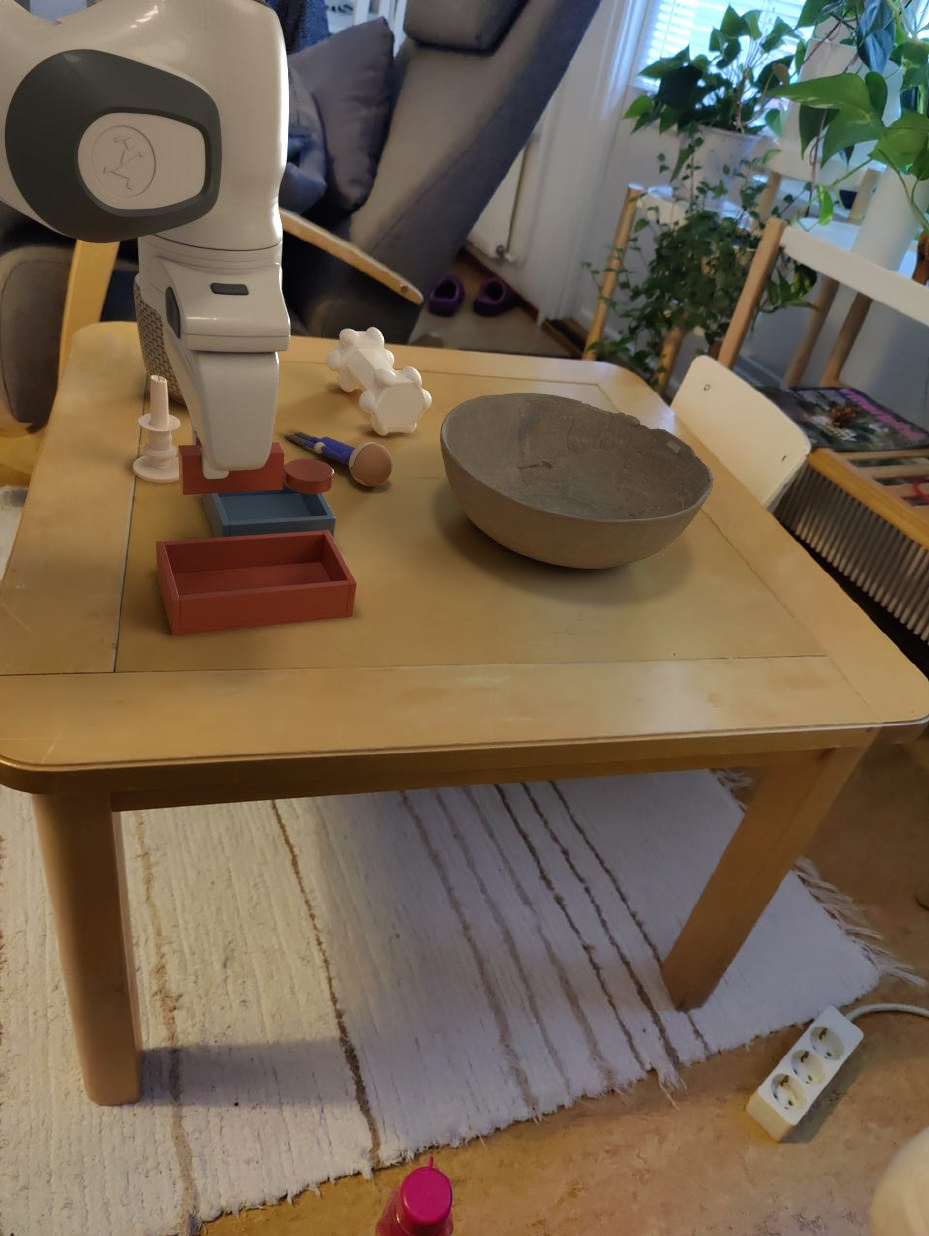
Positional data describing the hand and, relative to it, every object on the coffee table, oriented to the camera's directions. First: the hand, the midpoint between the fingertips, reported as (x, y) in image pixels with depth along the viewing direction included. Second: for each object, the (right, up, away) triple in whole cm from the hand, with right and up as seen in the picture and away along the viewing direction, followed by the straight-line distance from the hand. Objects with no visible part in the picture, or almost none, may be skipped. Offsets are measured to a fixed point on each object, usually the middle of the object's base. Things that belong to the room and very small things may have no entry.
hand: (210, 463), depth 65 cm
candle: (-12, +3, +23) cm, 26 cm away
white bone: (+8, +14, +43) cm, 46 cm away
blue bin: (0, -3, +18) cm, 19 cm away
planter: (-12, +14, +37) cm, 42 cm away
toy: (+5, +5, +30) cm, 31 cm away
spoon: (+3, -1, +3) cm, 4 cm away
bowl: (+28, -2, +28) cm, 40 cm away
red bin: (+1, -10, +9) cm, 14 cm away
